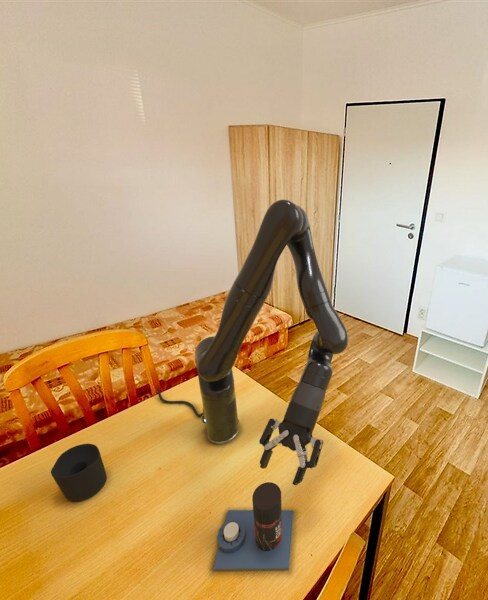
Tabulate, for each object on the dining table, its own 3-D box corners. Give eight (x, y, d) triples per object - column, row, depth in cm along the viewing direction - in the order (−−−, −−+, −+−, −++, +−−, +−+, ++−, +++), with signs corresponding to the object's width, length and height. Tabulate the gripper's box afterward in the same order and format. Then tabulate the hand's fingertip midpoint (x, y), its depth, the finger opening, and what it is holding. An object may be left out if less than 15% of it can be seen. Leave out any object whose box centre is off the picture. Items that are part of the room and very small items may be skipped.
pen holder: (116, 478, 84) (107, 453, 79) (77, 511, 76) (65, 485, 72) (94, 463, 87) (84, 438, 83) (55, 493, 79) (41, 467, 75)
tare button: (222, 542, 70) (221, 537, 69) (226, 526, 73) (225, 522, 72) (237, 542, 70) (236, 537, 70) (240, 526, 73) (240, 522, 73)
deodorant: (276, 554, 70) (275, 513, 63) (251, 547, 71) (247, 506, 64) (285, 526, 75) (285, 485, 69) (262, 519, 76) (259, 479, 69)
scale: (210, 571, 67) (209, 564, 66) (226, 512, 78) (225, 506, 77) (288, 570, 68) (288, 564, 67) (293, 512, 79) (293, 506, 78)
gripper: (336, 416, 76) (311, 487, 71) (286, 395, 81) (260, 461, 76) (328, 414, 69) (300, 493, 65) (274, 392, 74) (244, 463, 70)
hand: (278, 475), depth 70 cm, fingers open, 8 cm apart
